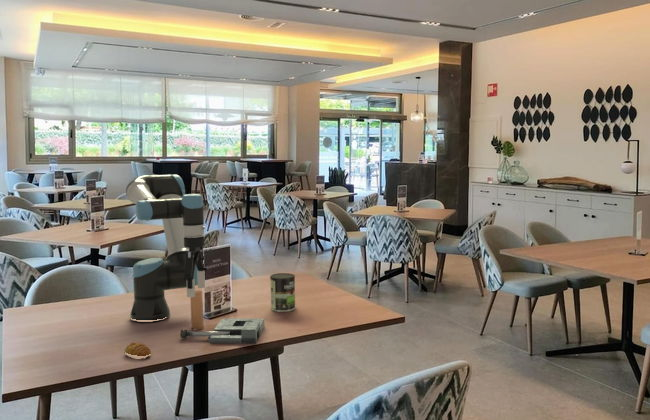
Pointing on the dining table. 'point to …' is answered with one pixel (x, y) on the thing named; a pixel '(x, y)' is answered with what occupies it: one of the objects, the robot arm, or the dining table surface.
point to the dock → (238, 330)
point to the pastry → (137, 349)
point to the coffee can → (282, 292)
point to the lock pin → (201, 333)
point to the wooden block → (197, 310)
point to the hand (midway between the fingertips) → (196, 292)
